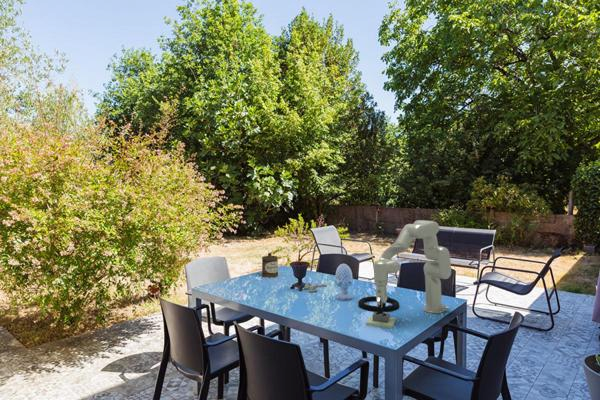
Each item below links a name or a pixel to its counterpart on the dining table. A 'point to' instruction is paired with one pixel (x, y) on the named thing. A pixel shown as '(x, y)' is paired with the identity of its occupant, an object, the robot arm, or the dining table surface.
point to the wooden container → (270, 266)
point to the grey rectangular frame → (381, 317)
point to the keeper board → (381, 324)
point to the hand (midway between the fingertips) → (381, 311)
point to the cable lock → (374, 308)
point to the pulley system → (309, 286)
